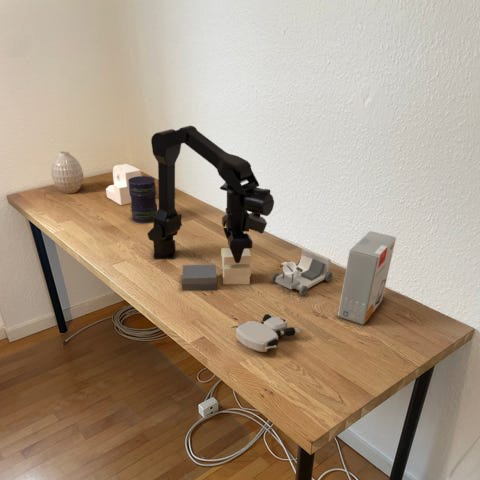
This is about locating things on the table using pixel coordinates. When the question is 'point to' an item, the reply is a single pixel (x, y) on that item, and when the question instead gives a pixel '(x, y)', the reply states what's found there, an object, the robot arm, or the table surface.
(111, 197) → the tape dispenser
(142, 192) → the storage jar
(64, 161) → the vase
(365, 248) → the hard drive box
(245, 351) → the table surface
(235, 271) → the beige block
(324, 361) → the table surface
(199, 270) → the grey books
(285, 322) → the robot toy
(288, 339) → the table surface
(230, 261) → the cream rectangular block
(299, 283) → the toy car
